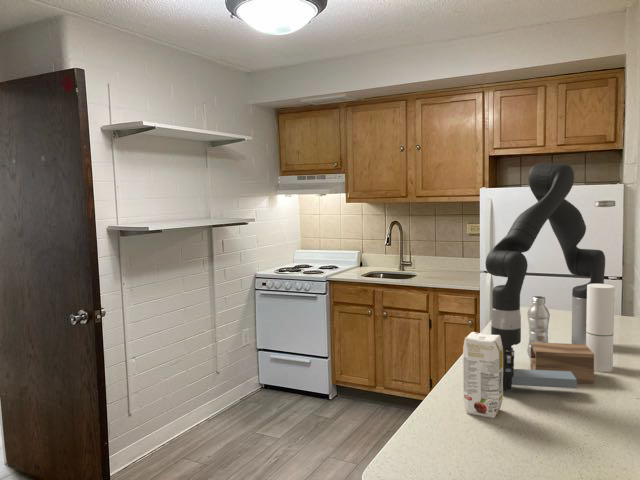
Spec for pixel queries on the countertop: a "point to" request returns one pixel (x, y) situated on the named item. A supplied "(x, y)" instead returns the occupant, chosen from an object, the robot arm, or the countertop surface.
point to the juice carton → (482, 374)
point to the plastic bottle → (538, 322)
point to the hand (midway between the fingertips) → (505, 385)
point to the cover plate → (543, 378)
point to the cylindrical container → (600, 325)
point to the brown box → (564, 359)
